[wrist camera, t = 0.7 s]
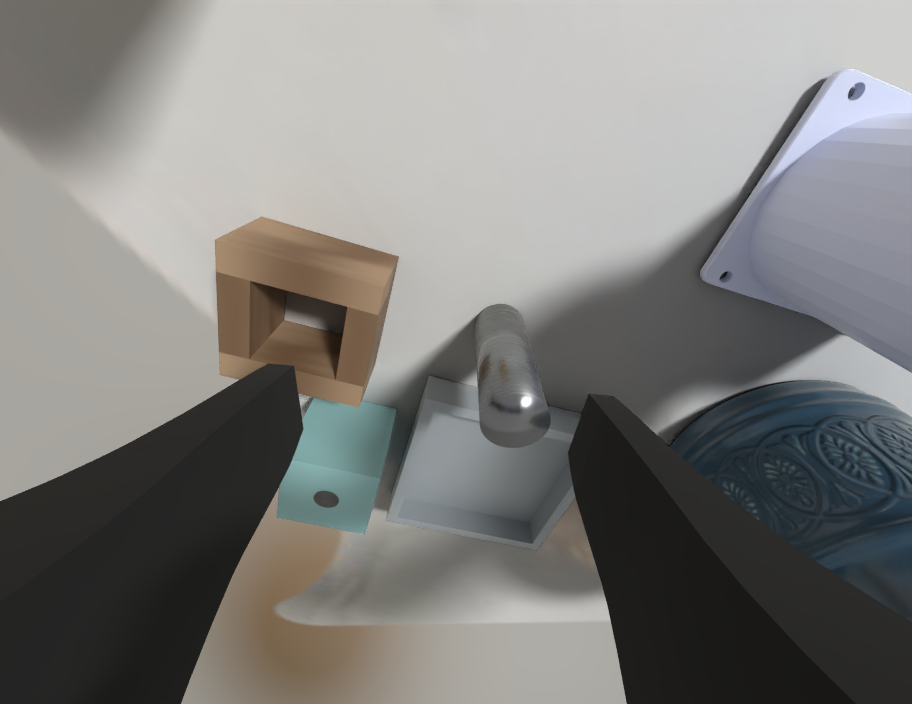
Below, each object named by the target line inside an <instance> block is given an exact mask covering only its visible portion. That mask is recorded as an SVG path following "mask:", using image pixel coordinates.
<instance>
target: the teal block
mask: <svg viewBox="0 0 912 704" xmlns="http://www.w3.org/2000/svg"><path fill="white" fill-rule="evenodd" d="M396 411H397V409H395V408H391V407H386V406H382V405H378V404H374V403H370V402H365V401H361V404H360V407H355V406H350V405H346V404H342V403H338V402H333V401H329V400H325V399H321V398H316V397H314V398H313V400H312V402H311V404H310V406H309V408H308V410H307V411H306V413H305V415H304V417H303V419H302V422H303V432H302V435H301V438H300V440H299V443H298V446H297V449H296V451H295V454H294V456H293V459H292V462H291V464H290V466H289V468H288V470H287V472H286V474H285V476H284V478H283V480H282V482H281V484H280V486H279V497H278V511H277V518H282V519H287V520H293V521H298V522H303V523H308V524H314V525H319V526H325V527H329V528H335V529H340V530H345V531H350V532H356V533H361V534H365V532H366V529H367V525H368V522H369V518H370V515H371V511H372V508H373V504H374V501H375V497H376V494H377V490H378V487H379V483H380V480H381V475H382V471H383V467H384V463H385V458H386V454H387V450H388V445H389V441H390V437H391V433H392V428H393V424H394V420H395V415H396Z"/></svg>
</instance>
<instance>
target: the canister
mask: <svg viewBox="0 0 912 704" xmlns="http://www.w3.org/2000/svg"><path fill="white" fill-rule="evenodd" d="M670 448H671V449H673V450H674V451H675V452H676V453H677V454H678V455H679V456H680V457H682V458H683V459H684V460H685V461H686V462H687V463H688V464H690V465H691V466H692V467H693V468H694V469H695V470H697V471H698V472H699V473H700V474H701V475H702V476H704V477H705V478H706V479H707V480H708V481H710V482H711V483H712V484H713V485H715V486H716V487H717V488H718V489H719V490H721V491H722V492H723V493H724V494H726V495H727V496H728V497H729V498H730V499H732V500H733V501H734V502H735V503H737V504H738V505H739V506H741V507H742V508H743V509H744V510H746V511H747V512H748V513H750V514H751V515H752V516H754V517H755V518H756V519H758V520H759V521H761V522H762V523H763V524H765V525H766V526H767V527H769V528H770V529H771V530H773V531H774V532H776V533H777V534H778V535H780V536H781V537H782V538H784V539H785V540H787V541H788V542H789V543H791V544H792V545H794V546H795V547H796V548H798V549H799V550H801V551H802V552H804V553H805V554H807V555H808V556H810V557H811V558H812V559H814V560H815V561H817V562H818V563H820V564H821V565H823V566H824V567H826V568H828V569H829V570H831V571H832V572H834V573H835V574H837V575H838V576H840V577H841V578H843V579H844V580H846V581H847V582H849V583H850V584H852V585H854V586H855V587H857V588H858V589H860V590H861V591H863V592H864V593H866V594H867V595H869V596H871V597H872V598H874V599H875V600H877V601H879V602H880V603H882V604H884V605H885V606H887V607H888V608H890V609H892V610H893V611H895V612H897V613H898V614H900V615H901V616H903V617H905V618H906V619H908V620H910V621H911V622H912V417H911V416H909V415H908V414H906V413H904V412H902V411H901V410H899V409H898V408H897V407H895V406H894V405H893V404H891V403H889V402H887V401H885V400H883V399H881V398H878V397H875V396H872V395H869V394H866V393H865V392H863V391H861V390H859V389H857V388H855V387H852V386H849V385H846V384H842V383H838V382H831V381H821V380H805V381H793V382H786V383H780V384H775V385H771V386H767V387H763V388H760V389H756V390H753V391H750V392H747V393H745V394H742V395H740V396H737V397H735V398H733V399H731V400H729V401H727V402H725V403H722V404H720V405H719V406H717V407H715V408H713V409H712V410H710V411H709V412H707V413H705V414H704V415H703V416H701V417H700V418H698V419H697V420H696V421H694V422H693V423H692V424H691V425H689V426H688V427H687V428H686V429H685V430H684V431H683V432H682V433H681V434H680V435H679V436H678V437H677V438H676V439H675V441H674V442H673V443H672V444H671V446H670Z"/></svg>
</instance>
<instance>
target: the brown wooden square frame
mask: <svg viewBox="0 0 912 704" xmlns="http://www.w3.org/2000/svg"><path fill="white" fill-rule="evenodd" d="M215 256H216V282H217V309H218V335H219V363H220V375H223V376H227V377H231V378H235V379H242V378H244V377H245V376H247V375H249V374H250V373H252V372H254V371H255V370H257V369H259V368H261V367H263V366H265V365H267V364H268V363H270V364H281V365H291V366H294V368H295V375H296V382H297V388H298V393H299V394H304V395H308V396H312V397H316V398H321V399H325V400H329V401H333V402H338V403H342V404H346V405H350V406H355V407H360V404H361V401H362V398H363V396H364V393H365V390H366V387H367V385H368V382H369V379H370V376H371V374H372V371H373V368H374V365H375V362H376V358H377V353H378V348H379V344H380V339H381V335H382V330H383V326H384V321H385V317H386V312H387V308H388V303H389V299H390V294H391V290H392V285H393V281H394V276H395V272H396V267H397V262H398V258H399V257H398V256H394V255H391V254H387V253H384V252H381V251H377V250H374V249H370V248H367V247H363V246H360V245H357V244H353V243H350V242H346V241H343V240H339V239H336V238H332V237H329V236H326V235H322V234H319V233H315V232H312V231H308V230H305V229H302V228H298V227H295V226H291V225H288V224H284V223H281V222H278V221H274V220H271V219H267V218H264V217H261V218H258V219H256V220H254V221H252V222H250V223H248V224H246V225H244V226H242V227H240V228H238V229H236V230H234V231H232V232H230V233H228V234H226V235H224V236H222V237H220V238H218V239H216V240H215ZM286 291H290V292H294V293H298V294H301V295H305V296H309V297H313V298H316V299H320V300H324V301H327V302H331V303H335V304H339V305H342V306H346V307H347V313H346V319H345V325H344V331H343V335H339V334H336V333H332V332H328V331H324V330H320V329H316V328H312V327H308V326H305V325H301V324H297V323H293V322H289V321H285V320H284V313H285V297H286Z"/></svg>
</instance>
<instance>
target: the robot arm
mask: <svg viewBox="0 0 912 704" xmlns="http://www.w3.org/2000/svg"><path fill="white" fill-rule="evenodd" d="M853 85H855V92H854V94H853V95H852V96H851V97H850V98H849V99H848V92H849V90H850V89H851V87H852V86H853ZM726 271H727V275H726V276H725V277H724V278H722V279H720V276H721V275H722V274H723V273H724V272H726ZM700 277H701V279H702V280H704V281H705V282H707V283H708V284H711V285H714V286H717V287H721V288H724V289H727V290H730V291H733V292H736V293H740V294H743V295H746V296H749V297H752V298H755V299H758V300H762V301H765V302H768V303H771V304H774V305H777V306H781V307H784V308H787V309H790V310H793V311H796V312H800V313H803V314H806V315H809V316H812V317H815V318H817V319H819V320H821V321H822V322H824V323H826V324H828V325H829V326H831V327H833V328H835V329H836V330H838V331H840V332H842V333H843V334H845V335H847V336H849V337H850V338H852V339H854V340H856V341H857V342H859V343H861V344H863V345H864V346H866V347H868V348H870V349H871V350H873V351H875V352H876V353H878V354H880V355H882V356H883V357H885V358H887V359H889V360H890V361H892V362H894V363H896V364H897V365H899V366H901V367H903V368H904V369H906V370H908V371H910V372H911V373H912V93H909V92H907V91H905V90H902V89H900V88H898V87H895V86H893V85H890V84H888V83H886V82H883V81H881V80H879V79H876V78H874V77H872V76H869V75H867V74H865V73H862V72H860V71H858V70H855V69H844V70H840V71H837V72H835V73H833V74H832V75H831V76H829V77H828V79H827V80H826V81H825V82H824V84H823V85H822V87H821V88H820V90H819V91H818V93H817V94H816V96H815V97H814V99H813V100H812V102H811V103H810V105H809V106H808V108H807V109H806V111H805V112H804V114H803V115H802V117H801V119H800V120H799V122H798V123H797V125H796V126H795V128H794V129H793V131H792V132H791V134H790V135H789V137H788V138H787V140H786V141H785V143H784V144H783V146H782V147H781V149H780V150H779V152H778V153H777V155H776V156H775V158H774V159H773V161H772V163H771V164H770V166H769V167H768V169H767V170H766V172H765V173H764V175H763V176H762V178H761V179H760V181H759V182H758V184H757V185H756V187H755V188H754V190H753V191H752V193H751V194H750V196H749V197H748V199H747V200H746V202H745V203H744V205H743V207H742V208H741V210H740V211H739V213H738V214H737V216H736V217H735V219H734V220H733V222H732V223H731V225H730V226H729V228H728V229H727V231H726V232H725V234H724V235H723V237H722V238H721V240H720V241H719V243H718V244H717V246H716V247H715V249H714V251H713V252H712V254H711V255H710V257H709V258H708V260H707V261H706V263H705V264H704V266H703V267H702V269H701V271H700ZM302 432H303V422H302V415H301V409H300V402H299V395H298V388H297V382H296V375H295V368H294V366H291V365H281V364H270V363H268V364H267V365H265V366H263V367H261V368H259V369H257V370H255V371H254V372H252V373H250V374H249V375H247V376H245V377H244V378H242V379H240V380H239V381H237V382H235V383H234V384H232V385H230V386H229V387H227V388H226V389H224V390H222V391H221V392H219V393H217V394H215V395H214V396H212V397H210V398H209V399H207V400H206V401H203V402H202V403H200V404H198V405H197V406H195V407H194V408H192V409H190V410H188V411H187V412H185V413H184V414H182V415H180V416H178V417H176V418H174V419H173V420H171V421H169V422H167V423H165V424H163V425H161V426H159V427H158V428H156V429H154V430H152V431H150V432H148V433H147V434H145V435H143V436H141V437H139V438H137V439H136V440H134V441H132V442H130V443H128V444H126V445H124V446H122V447H120V448H119V449H116V450H114V451H112V452H110V453H108V454H106V455H104V456H102V457H100V458H98V459H96V460H94V461H92V462H89V463H87V464H85V465H83V466H81V467H79V468H77V469H74V470H72V471H70V472H68V473H66V474H64V475H62V476H59V477H57V478H55V479H53V480H50V481H48V482H46V483H43V484H41V485H39V486H36V487H34V488H31V489H29V490H26V491H24V492H22V493H19V494H17V495H15V496H12V497H10V498H7V499H5V500H2V501H0V704H181V702H182V699H183V696H184V694H185V691H186V688H187V686H188V683H189V680H190V678H191V675H192V673H193V670H194V667H195V665H196V663H197V660H198V658H199V655H200V652H201V650H202V648H203V645H204V643H205V640H206V637H207V635H208V632H209V630H210V627H211V625H212V622H213V620H214V617H215V615H216V613H217V611H218V608H219V606H220V604H221V601H222V599H223V597H224V594H225V592H226V589H227V587H228V585H229V582H230V580H231V578H232V575H233V573H234V571H235V569H236V567H237V565H238V563H239V561H240V559H241V557H242V555H243V553H244V551H245V549H246V547H247V545H248V544H249V542H250V540H251V538H252V536H253V534H254V532H255V531H256V529H257V527H258V525H259V523H260V521H261V519H262V518H263V516H264V514H265V512H266V510H267V508H268V506H269V505H270V503H271V501H272V499H273V497H274V495H275V493H276V491H277V490H278V488H279V486H280V484H281V482H282V480H283V478H284V476H285V474H286V472H287V470H288V468H289V466H290V464H291V462H292V459H293V456H294V454H295V451H296V449H297V446H298V443H299V440H300V438H301V435H302ZM568 459H569V465H570V472H571V478H572V483H573V489H574V493H575V497H576V500H577V504H578V507H579V510H580V514H581V517H582V520H583V524H584V527H585V530H586V533H587V537H588V540H589V543H590V547H591V550H592V553H593V556H594V560H595V563H596V566H597V569H598V573H599V576H600V579H601V582H602V586H603V590H604V594H605V597H606V601H607V605H608V610H609V614H610V619H611V624H612V629H613V634H614V639H615V643H616V648H617V653H618V658H619V663H620V669H621V674H622V680H623V685H624V690H625V696H626V702H627V704H912V622H911V621H910V620H908V619H906V618H905V617H903V616H901V615H900V614H898V613H897V612H895V611H893V610H892V609H890V608H888V607H887V606H885V605H884V604H882V603H880V602H879V601H877V600H875V599H874V598H872V597H871V596H869V595H867V594H866V593H864V592H863V591H861V590H860V589H858V588H857V587H855V586H854V585H852V584H850V583H849V582H847V581H846V580H844V579H843V578H841V577H840V576H838V575H837V574H835V573H834V572H832V571H831V570H829V569H828V568H826V567H824V566H823V565H821V564H820V563H818V562H817V561H815V560H814V559H812V558H811V557H810V556H808V555H807V554H805V553H804V552H802V551H801V550H799V549H798V548H796V547H795V546H794V545H792V544H791V543H789V542H788V541H787V540H785V539H784V538H782V537H781V536H780V535H778V534H777V533H776V532H774V531H773V530H771V529H770V528H769V527H767V526H766V525H765V524H763V523H762V522H761V521H759V520H758V519H756V518H755V517H754V516H752V515H751V514H750V513H748V512H747V511H746V510H744V509H743V508H742V507H741V506H739V505H738V504H737V503H735V502H734V501H733V500H732V499H730V498H729V497H728V496H727V495H726V494H724V493H723V492H722V491H721V490H719V489H718V488H717V487H716V486H715V485H713V484H712V483H711V482H710V481H708V480H707V479H706V478H705V477H704V476H702V475H701V474H700V473H699V472H698V471H697V470H695V469H694V468H693V467H692V466H691V465H690V464H688V463H687V462H686V461H685V460H684V459H683V458H682V457H680V456H679V455H678V454H677V453H676V452H675V451H674V450H673V449H671V448H670V447H669V446H668V445H667V444H666V443H665V442H664V441H663V440H662V439H660V438H659V437H658V436H657V435H656V434H655V433H654V432H653V431H652V430H651V429H649V428H648V427H647V426H646V425H645V424H644V423H643V422H642V421H641V420H640V419H639V418H638V417H636V416H635V415H634V414H633V413H632V412H631V411H630V410H629V409H628V408H626V407H625V406H624V405H623V404H622V403H621V402H620V401H618V400H617V399H616V398H615V397H613V396H605V395H594V394H589V395H588V397H587V400H586V403H585V406H584V409H583V411H582V414H581V417H580V420H579V423H578V425H577V428H576V431H575V434H574V437H573V439H572V442H571V445H570V448H569V451H568Z"/></svg>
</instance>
